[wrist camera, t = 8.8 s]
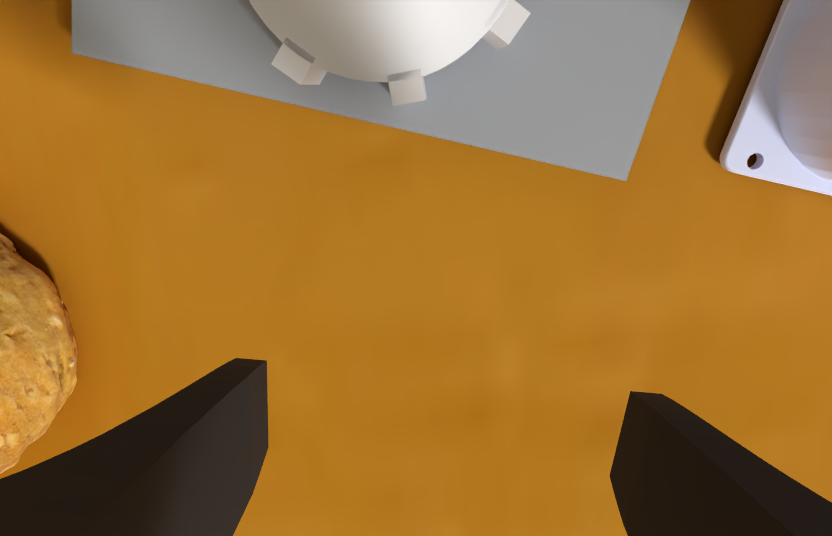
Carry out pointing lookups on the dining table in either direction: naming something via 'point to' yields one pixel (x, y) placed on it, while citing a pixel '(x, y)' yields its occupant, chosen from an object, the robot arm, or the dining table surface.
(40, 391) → the bagel
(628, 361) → the dining table surface
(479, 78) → the plate
